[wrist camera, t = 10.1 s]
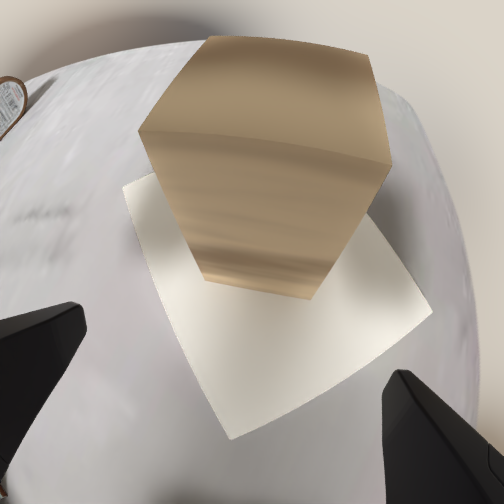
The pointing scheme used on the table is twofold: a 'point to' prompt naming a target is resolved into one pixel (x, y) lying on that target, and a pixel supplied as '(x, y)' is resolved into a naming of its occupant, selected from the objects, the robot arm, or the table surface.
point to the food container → (2, 493)
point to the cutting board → (274, 318)
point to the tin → (11, 102)
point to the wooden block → (269, 158)
